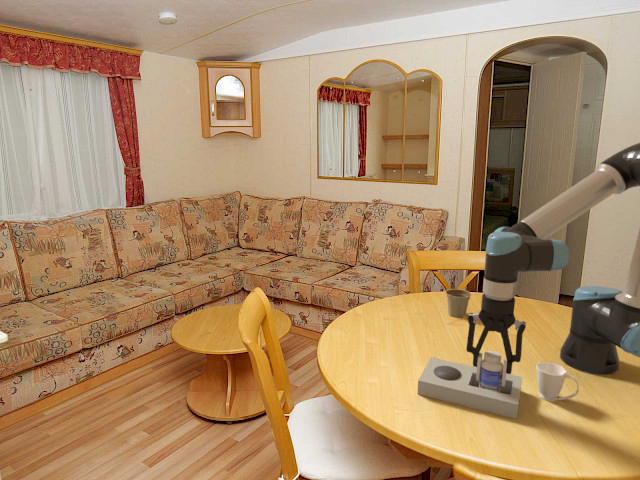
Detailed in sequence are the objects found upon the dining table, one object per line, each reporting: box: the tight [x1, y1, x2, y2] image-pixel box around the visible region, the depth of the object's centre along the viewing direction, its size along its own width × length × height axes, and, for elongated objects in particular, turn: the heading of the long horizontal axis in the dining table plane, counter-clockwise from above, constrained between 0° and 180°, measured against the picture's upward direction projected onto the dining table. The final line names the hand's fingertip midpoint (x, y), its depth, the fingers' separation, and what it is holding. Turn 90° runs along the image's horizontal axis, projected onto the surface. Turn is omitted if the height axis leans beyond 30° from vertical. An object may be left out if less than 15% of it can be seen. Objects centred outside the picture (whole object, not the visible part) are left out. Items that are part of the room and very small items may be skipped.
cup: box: [535, 361, 579, 402], centre depth 115 cm, size 7×10×8 cm
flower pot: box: [444, 288, 472, 318], centre depth 169 cm, size 9×9×9 cm
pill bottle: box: [479, 350, 504, 392], centre depth 115 cm, size 5×5×10 cm
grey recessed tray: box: [417, 356, 523, 420], centre depth 118 cm, size 24×14×4 cm, turn 63°
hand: (490, 380), depth 115 cm, fingers closed on pill bottle, 5 cm apart
